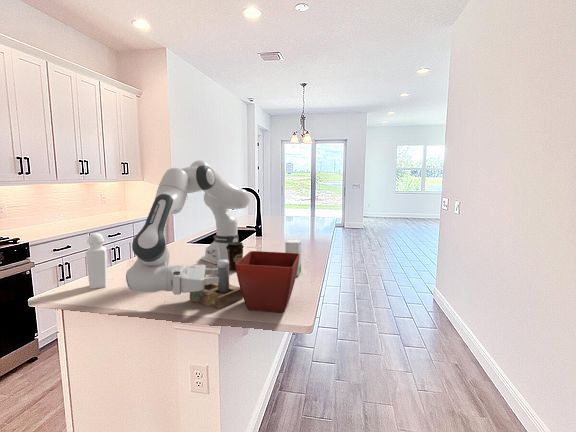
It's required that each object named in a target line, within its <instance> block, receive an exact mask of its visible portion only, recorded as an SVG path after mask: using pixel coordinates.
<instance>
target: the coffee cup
mask: <svg viewBox="0 0 576 432" xmlns="http://www.w3.org/2000/svg"><path fill="white" fill-rule="evenodd" d="M226 249H227V251H228V260H229V271H232V272H236V266H235V264H236V263H237V262H238V261H239V260H240V259H242V258H243V257H244V243H243V242H242V241H238V242H231V243H228V246H227V247H226Z"/></svg>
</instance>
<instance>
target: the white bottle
mask: <svg viewBox="0 0 576 432" xmlns="http://www.w3.org/2000/svg"><path fill="white" fill-rule="evenodd" d="M104 242H105V239H104V236H103V235H102V234H101V233H98V232H93V233H91V234H90V235H89V236H88V238H87V240H86V243H87V244H88V245H89V248H88V249H87V250H86V251H85V257H86V266H87V274H88V275H87V276H88V284H89V289H90V290H93V289H94V290H95V289H102V288H106V287H107V286H108V260H107V259H108V258H107V257H108V256H107V255H108V254H107V253H108V252H107V249H108V248H107V247H106V246H103V244H104Z"/></svg>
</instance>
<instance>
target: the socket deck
mask: <svg viewBox="0 0 576 432" xmlns="http://www.w3.org/2000/svg"><path fill="white" fill-rule="evenodd" d="M189 300H190V301H191V302H195V303H198V304H202V305H205V306H207V307H211V308H214V309H218V310H221V309H223V308H225V307H228V306H230V305H231V304H234V303H236V302H238V301H241V300H244V298H243V295H242V292H241V289H240V286H237V285H236V286H235V285H231V284H229V293H226V294H220V293H218V283H212V284H209V285H205V286H204V289H203V290H201V291H196V292H189Z"/></svg>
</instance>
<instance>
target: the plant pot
mask: <svg viewBox="0 0 576 432" xmlns="http://www.w3.org/2000/svg"><path fill="white" fill-rule="evenodd" d="M299 256H300V254H298V253H285V252H279V251H277V252H276V251H258V250H251V251H248V252H247V253H246V254H245V255H243V258H242V259H240V260H239V261H238V262H237V263H236V264H235V266H236V271H235V272H236V276H237V280H238V284H239V286H238V287H240V289H241V292H242V295H243V301H244V304H245V306H246V308H247V310H249V311H260V312H261V311H262V312H273V313H274V312H275V313H284V312H285V311H286V309H287V306H288V303H289V302H290V299H291V296H292V293H293V290H294V286H295V281H296V278H297V276H296V274H297V269H298V263H299Z"/></svg>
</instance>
